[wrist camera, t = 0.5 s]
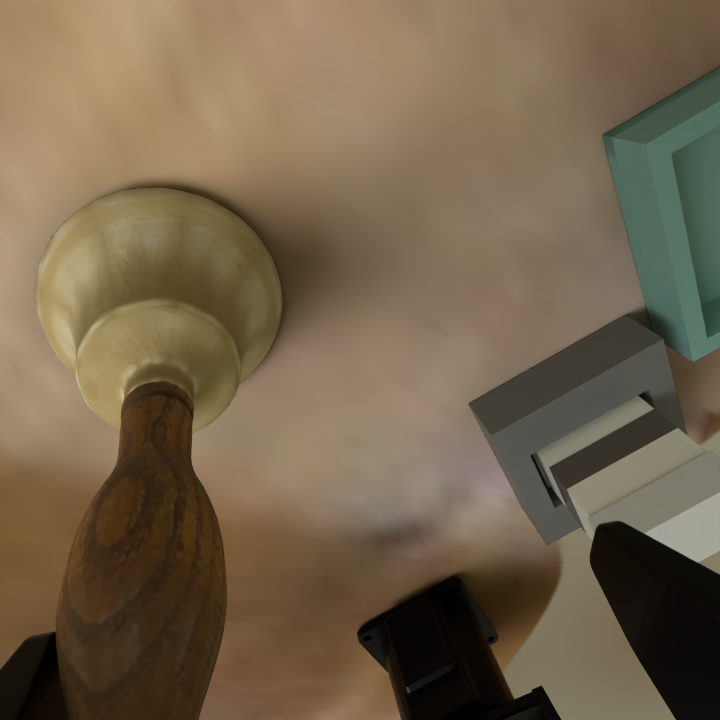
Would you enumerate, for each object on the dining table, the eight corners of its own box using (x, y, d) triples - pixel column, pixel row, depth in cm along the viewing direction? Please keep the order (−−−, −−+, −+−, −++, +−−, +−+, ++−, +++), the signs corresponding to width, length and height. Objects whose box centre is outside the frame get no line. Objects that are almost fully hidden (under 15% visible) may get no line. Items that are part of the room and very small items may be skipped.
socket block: (659, 434, 29) (694, 464, 27) (523, 509, 30) (547, 545, 28) (625, 314, 25) (663, 338, 23) (468, 403, 26) (491, 435, 24)
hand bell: (-7, 348, 19) (-414, 1013, 6) (104, 133, 17) (-132, 408, 4) (211, 433, 23) (263, 951, 10) (323, 266, 21) (575, 629, 8)
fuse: (624, 415, 28) (755, 531, 21) (532, 466, 29) (632, 597, 22) (609, 368, 27) (745, 478, 20) (512, 423, 27) (612, 550, 20)
